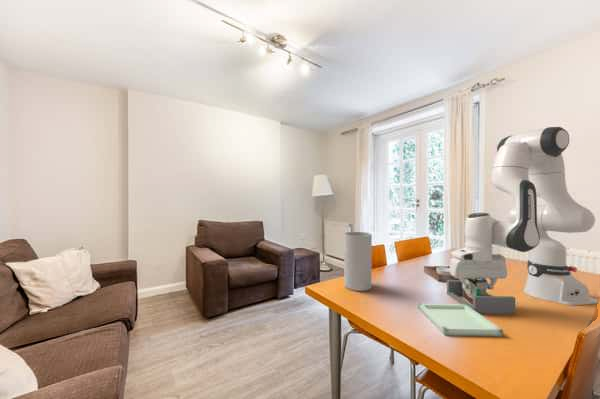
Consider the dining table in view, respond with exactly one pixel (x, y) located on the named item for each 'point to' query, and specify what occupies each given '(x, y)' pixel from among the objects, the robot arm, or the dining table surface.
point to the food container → (475, 288)
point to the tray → (459, 320)
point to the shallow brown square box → (439, 277)
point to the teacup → (443, 270)
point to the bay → (482, 300)
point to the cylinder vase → (358, 261)
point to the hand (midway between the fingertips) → (477, 288)
